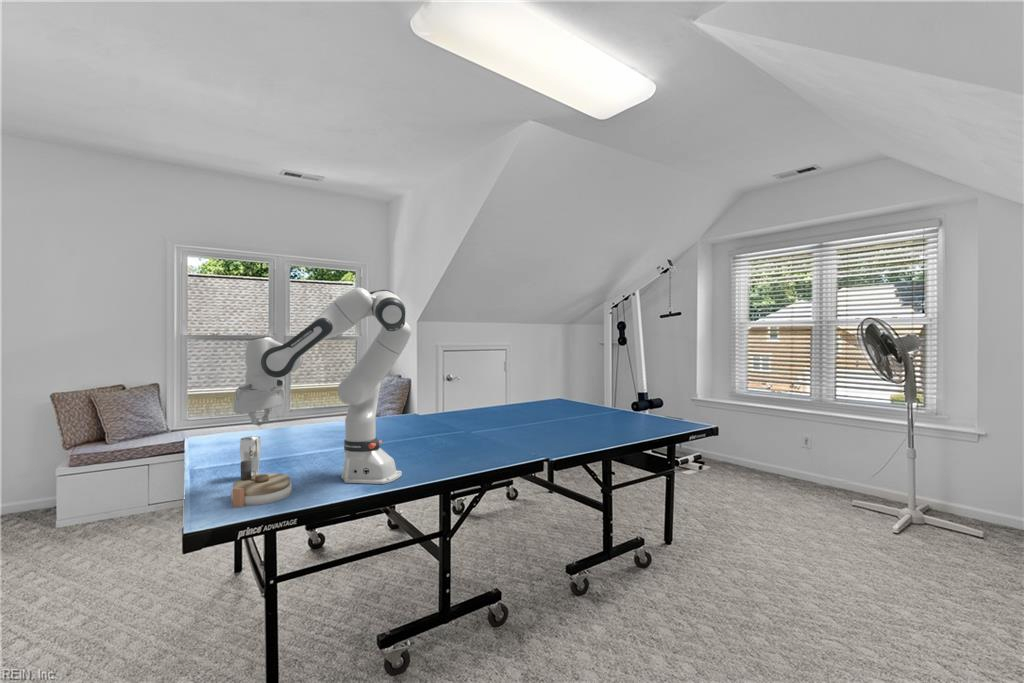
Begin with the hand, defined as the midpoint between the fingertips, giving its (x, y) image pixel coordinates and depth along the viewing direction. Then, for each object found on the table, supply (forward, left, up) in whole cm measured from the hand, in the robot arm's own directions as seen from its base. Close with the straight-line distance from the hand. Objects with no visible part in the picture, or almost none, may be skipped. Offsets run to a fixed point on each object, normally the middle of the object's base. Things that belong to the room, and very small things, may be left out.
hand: (260, 422), depth 174 cm
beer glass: (+13, -8, -23) cm, 28 cm away
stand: (-6, +7, -23) cm, 25 cm away
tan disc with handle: (-6, +7, -20) cm, 22 cm away
